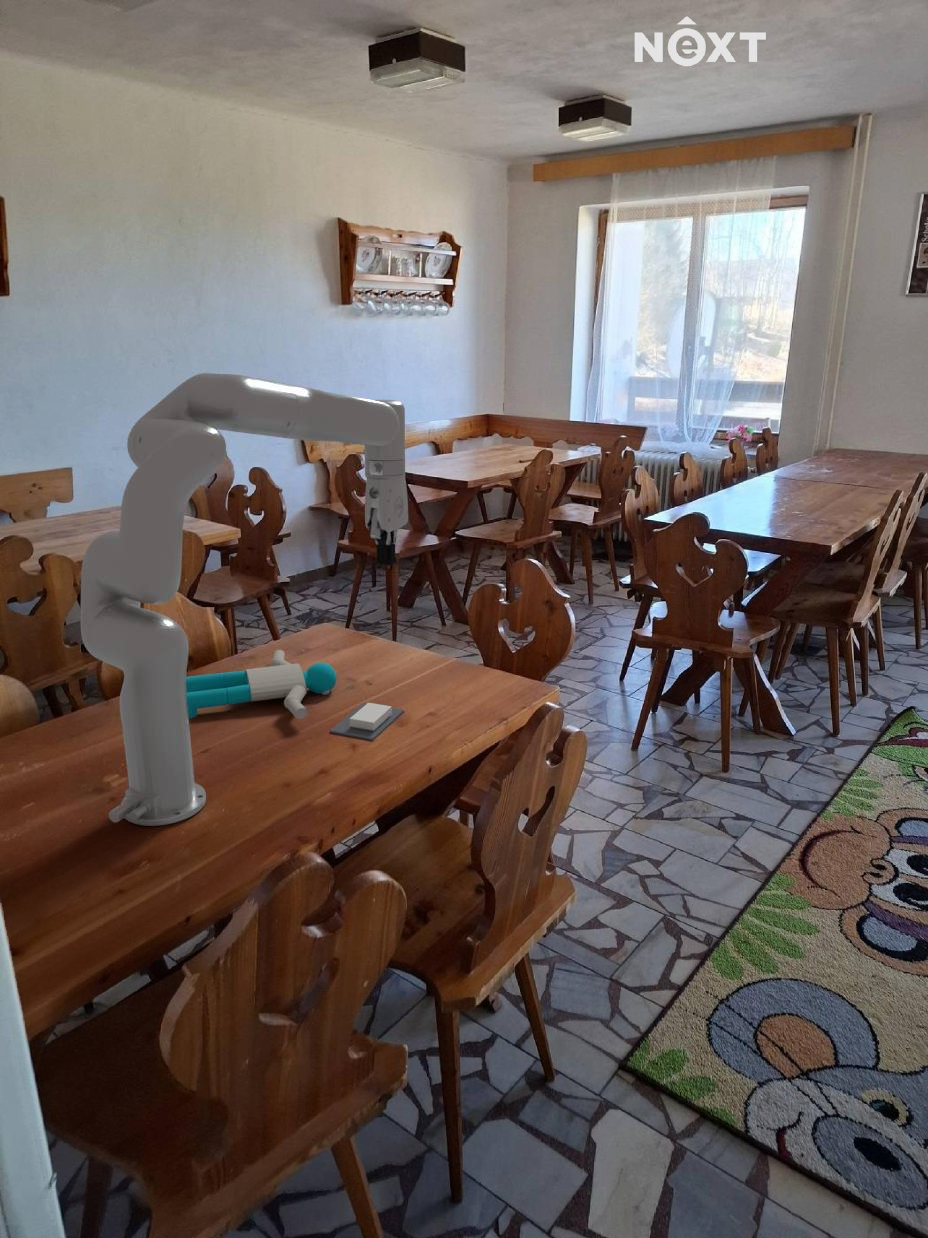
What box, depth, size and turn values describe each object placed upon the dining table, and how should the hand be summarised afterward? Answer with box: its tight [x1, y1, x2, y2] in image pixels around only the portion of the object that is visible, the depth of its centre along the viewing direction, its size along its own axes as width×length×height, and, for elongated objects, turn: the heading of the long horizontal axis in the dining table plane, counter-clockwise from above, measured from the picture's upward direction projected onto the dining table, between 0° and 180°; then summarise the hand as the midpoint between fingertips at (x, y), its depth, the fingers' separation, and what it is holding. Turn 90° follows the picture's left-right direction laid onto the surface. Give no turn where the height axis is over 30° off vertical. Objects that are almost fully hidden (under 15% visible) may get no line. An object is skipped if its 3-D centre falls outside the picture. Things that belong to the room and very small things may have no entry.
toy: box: [186, 649, 337, 720], centre depth 173 cm, size 34×6×30 cm
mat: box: [329, 702, 405, 741], centre depth 163 cm, size 14×9×1 cm, turn 160°
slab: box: [350, 702, 393, 731], centre depth 162 cm, size 2×5×8 cm
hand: (386, 563), depth 164 cm, fingers closed
